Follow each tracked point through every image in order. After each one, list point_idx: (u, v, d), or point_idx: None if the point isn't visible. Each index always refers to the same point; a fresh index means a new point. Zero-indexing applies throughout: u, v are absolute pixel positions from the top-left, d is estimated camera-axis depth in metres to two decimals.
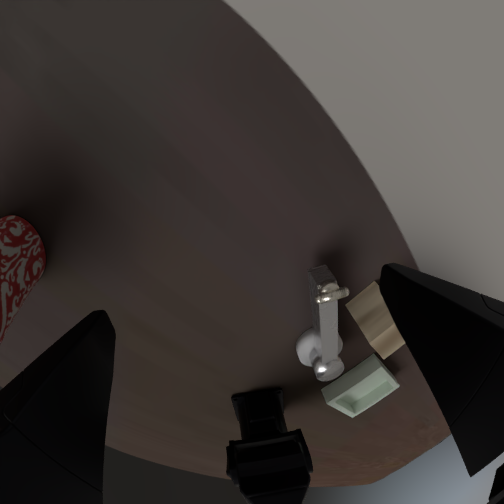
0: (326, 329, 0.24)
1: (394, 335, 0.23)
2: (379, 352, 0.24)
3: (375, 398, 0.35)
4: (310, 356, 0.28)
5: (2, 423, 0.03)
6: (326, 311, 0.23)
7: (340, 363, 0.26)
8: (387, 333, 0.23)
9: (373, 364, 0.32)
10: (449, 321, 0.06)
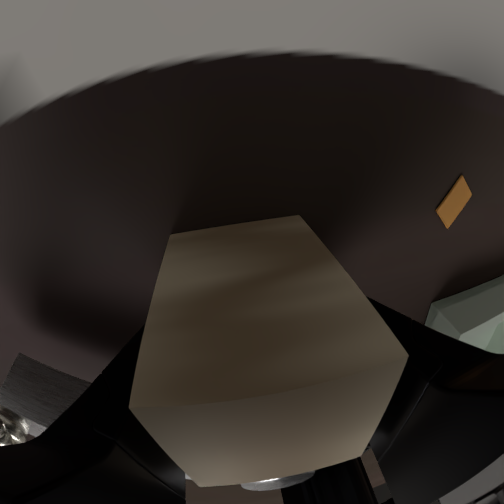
0: None
1: (260, 447, 0.04)
2: (297, 472, 0.05)
3: None
4: None
5: (98, 442, 0.03)
6: None
7: None
8: (207, 463, 0.04)
9: (443, 332, 0.11)
10: None
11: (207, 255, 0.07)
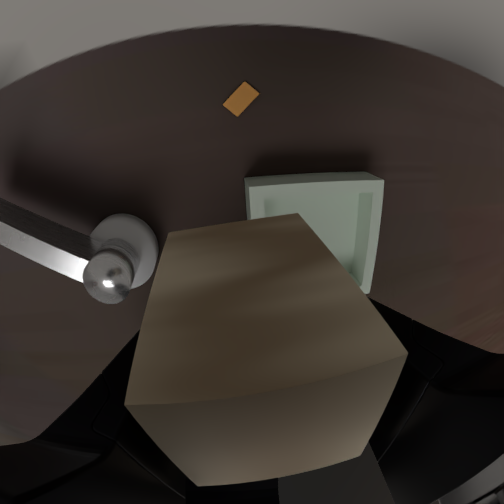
0: (22, 247, 0.13)
1: (257, 446, 0.04)
2: (295, 472, 0.05)
3: (366, 235, 0.18)
4: None
5: (99, 442, 0.03)
6: (0, 235, 0.12)
7: (94, 261, 0.14)
8: (204, 462, 0.04)
9: (247, 195, 0.17)
10: None
11: (205, 253, 0.07)
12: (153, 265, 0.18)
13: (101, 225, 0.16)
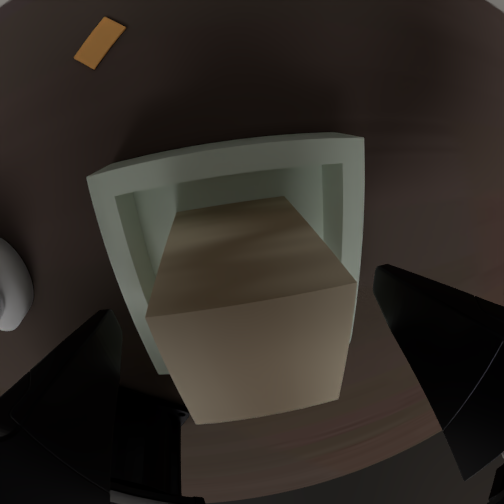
0: None
1: (245, 367, 0.06)
2: (281, 410, 0.07)
3: (338, 249, 0.10)
4: None
5: (9, 425, 0.03)
6: None
7: None
8: (202, 386, 0.06)
9: None
10: (442, 324, 0.06)
11: (207, 224, 0.09)
12: (18, 304, 0.10)
13: None
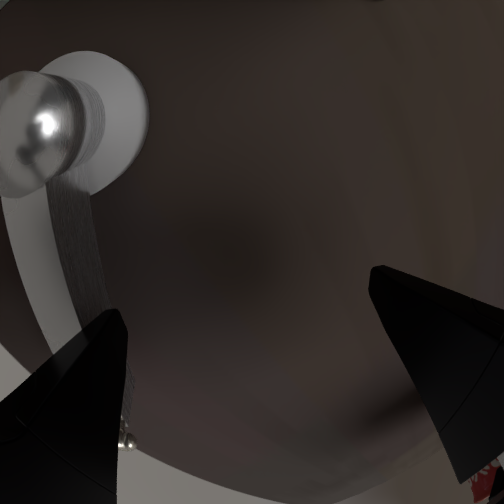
0: None
1: None
2: None
3: None
4: (98, 136, 0.07)
5: (16, 427, 0.03)
6: None
7: None
8: None
9: None
10: (437, 326, 0.06)
11: None
12: (61, 58, 0.06)
13: None
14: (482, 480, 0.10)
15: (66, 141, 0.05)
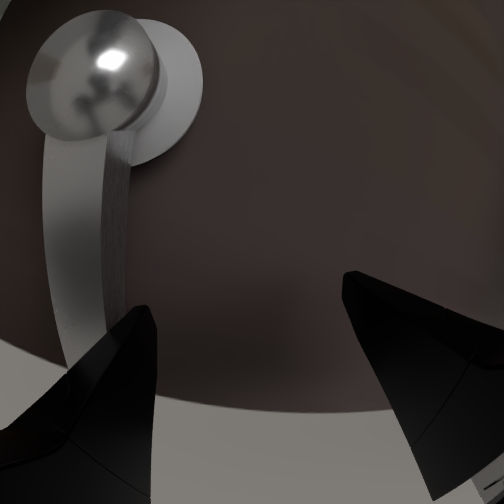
0: (87, 323, 0.07)
1: None
2: None
3: None
4: (158, 105, 0.07)
5: (53, 435, 0.03)
6: None
7: (35, 114, 0.04)
8: None
9: None
10: (406, 338, 0.06)
11: None
12: None
13: None
14: None
15: (144, 94, 0.05)
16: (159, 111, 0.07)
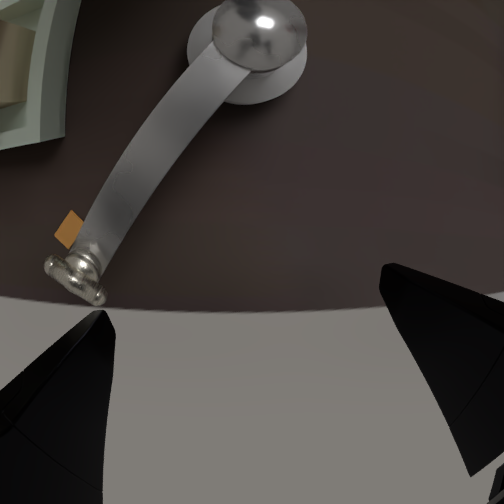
0: (144, 175, 0.09)
1: None
2: None
3: None
4: (269, 74, 0.10)
5: (2, 423, 0.03)
6: (112, 223, 0.09)
7: (215, 26, 0.07)
8: None
9: (51, 123, 0.09)
10: (449, 321, 0.06)
11: None
12: (195, 27, 0.09)
13: (259, 100, 0.11)
14: None
15: (283, 64, 0.08)
16: None
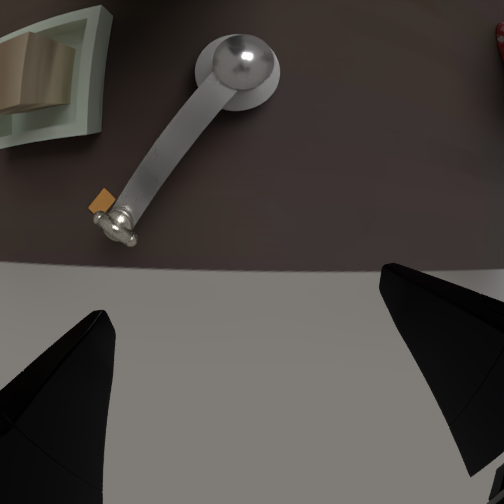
0: (168, 157, 0.13)
1: (0, 79, 0.08)
2: None
3: None
4: (252, 89, 0.14)
5: (2, 423, 0.03)
6: (145, 189, 0.14)
7: (214, 61, 0.11)
8: (15, 65, 0.08)
9: (93, 121, 0.14)
10: (449, 321, 0.06)
11: (43, 106, 0.12)
12: (200, 55, 0.13)
13: (245, 108, 0.15)
14: None
15: None
16: None
